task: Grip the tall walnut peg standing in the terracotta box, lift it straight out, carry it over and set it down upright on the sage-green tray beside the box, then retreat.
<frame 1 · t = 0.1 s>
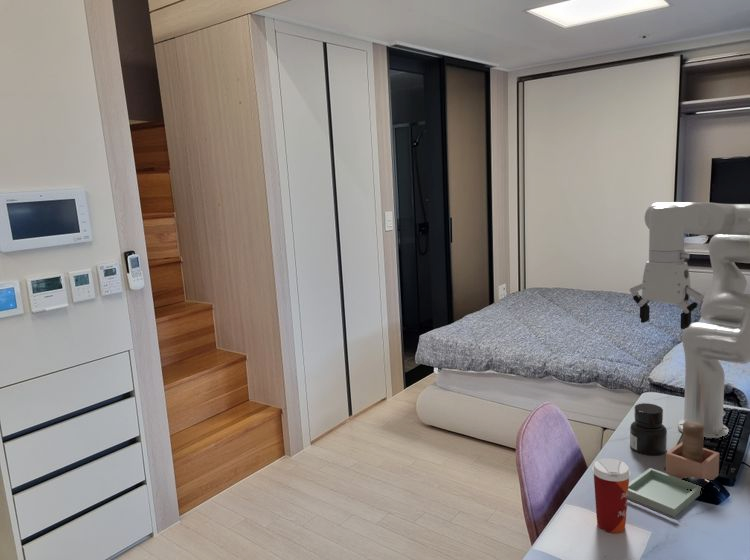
hand: (664, 324, 141), 37 cm above the table, tool pointing down, fingers open, 9 cm apart
paper cup: (610, 526, 123), on the table
sage tray: (661, 496, 132), on the table
terracotta box: (691, 477, 139), on the table
ink bottle: (647, 450, 154), on the table
walnut peg: (691, 475, 139), point 1 cm above the table, touching terracotta box
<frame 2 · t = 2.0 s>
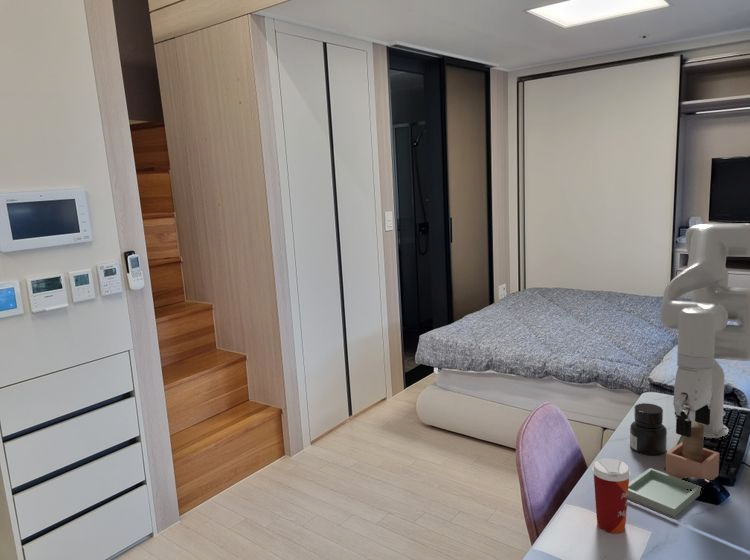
hand: (693, 429, 136), 13 cm above the table, tool pointing down, fingers open, 9 cm apart
nothing on the table moved.
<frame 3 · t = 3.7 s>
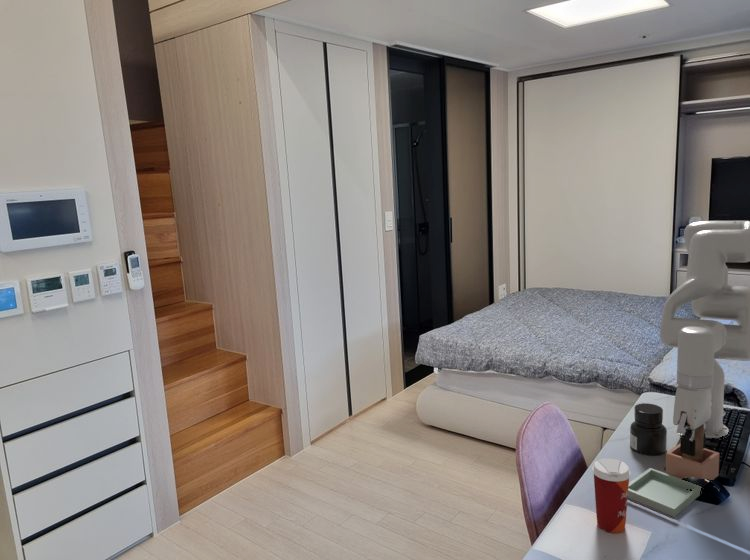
hand: (692, 449, 138), 7 cm above the table, tool pointing down, fingers closed on walnut peg, 4 cm apart
walnut peg: (691, 475, 139), point 1 cm above the table, touching gripper, terracotta box
everything else where it was.
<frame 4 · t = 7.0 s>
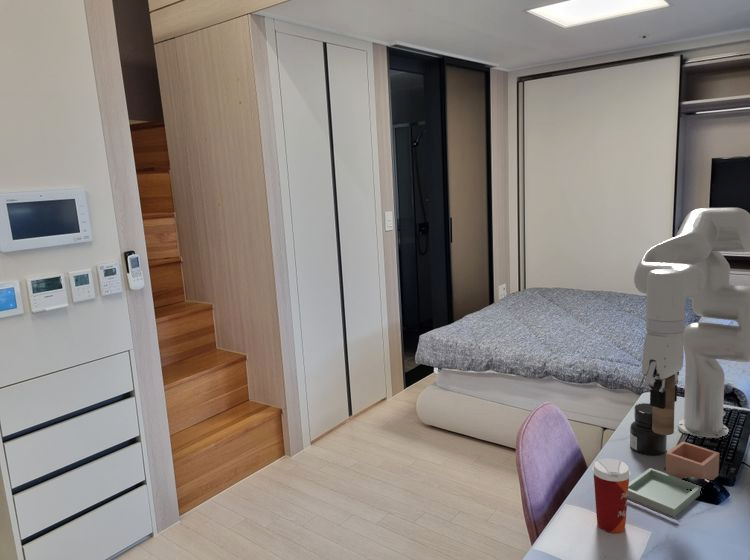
hand: (663, 402, 128), 23 cm above the table, tool pointing down, fingers closed on walnut peg, 4 cm apart
walnut peg: (662, 430, 129), point 16 cm above the table, touching gripper
everything else where it was.
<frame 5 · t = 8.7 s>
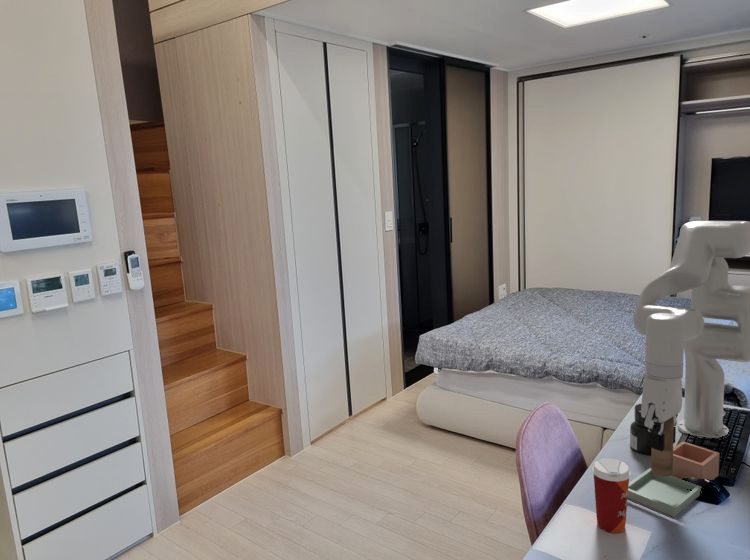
hand: (662, 444, 130), 13 cm above the table, tool pointing down, fingers closed on walnut peg, 4 cm apart
walnut peg: (661, 471, 131), point 6 cm above the table, touching gripper
everything else where it was.
when the fingers open (9 cm above the table, at t = 10.4 s): walnut peg drops 1 cm, resting on sage tray.
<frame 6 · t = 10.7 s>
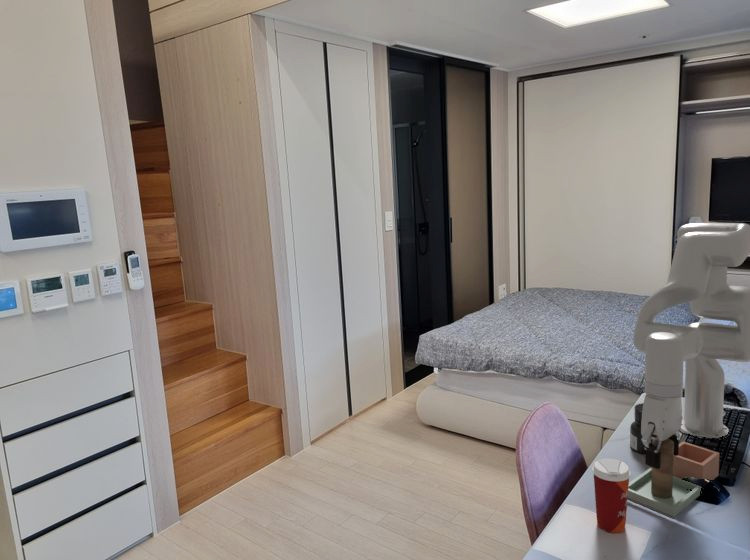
hand: (662, 459, 130), 9 cm above the table, tool pointing down, fingers open, 7 cm apart
walnut peg: (661, 493, 132), point 1 cm above the table, touching sage tray
everything else where it was.
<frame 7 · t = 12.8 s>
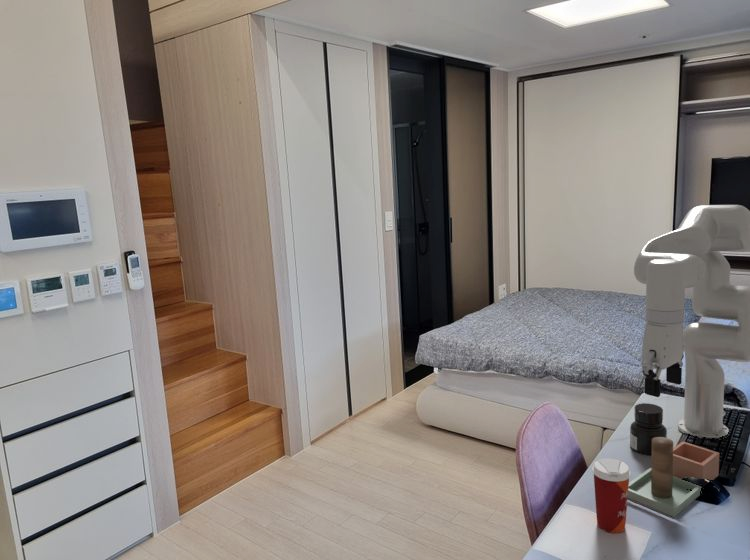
hand: (663, 388, 128), 26 cm above the table, tool pointing down, fingers open, 9 cm apart
nothing on the table moved.
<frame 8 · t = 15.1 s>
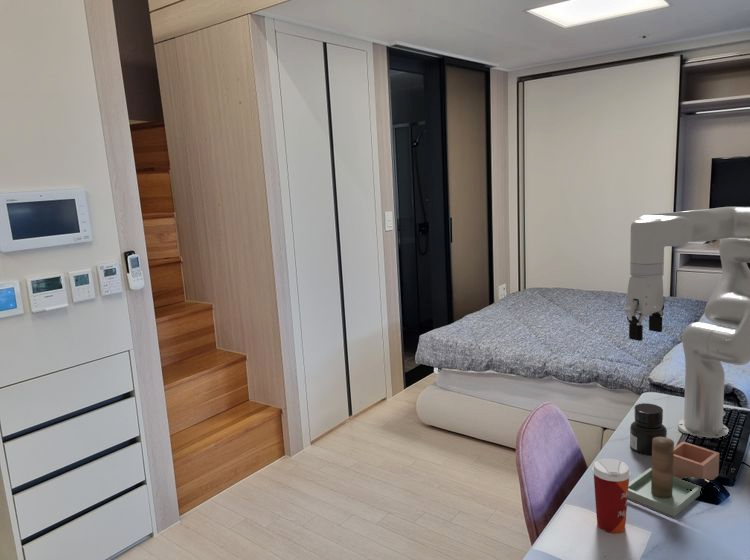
hand: (645, 335, 144), 33 cm above the table, tool pointing down, fingers open, 9 cm apart
nothing on the table moved.
at the end: walnut peg inside the target area on the sage tray (0.1 cm from its centre), point 0.8 cm above the sage tray's base; walnut peg tilted 1°; the gripper is holding nothing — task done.
